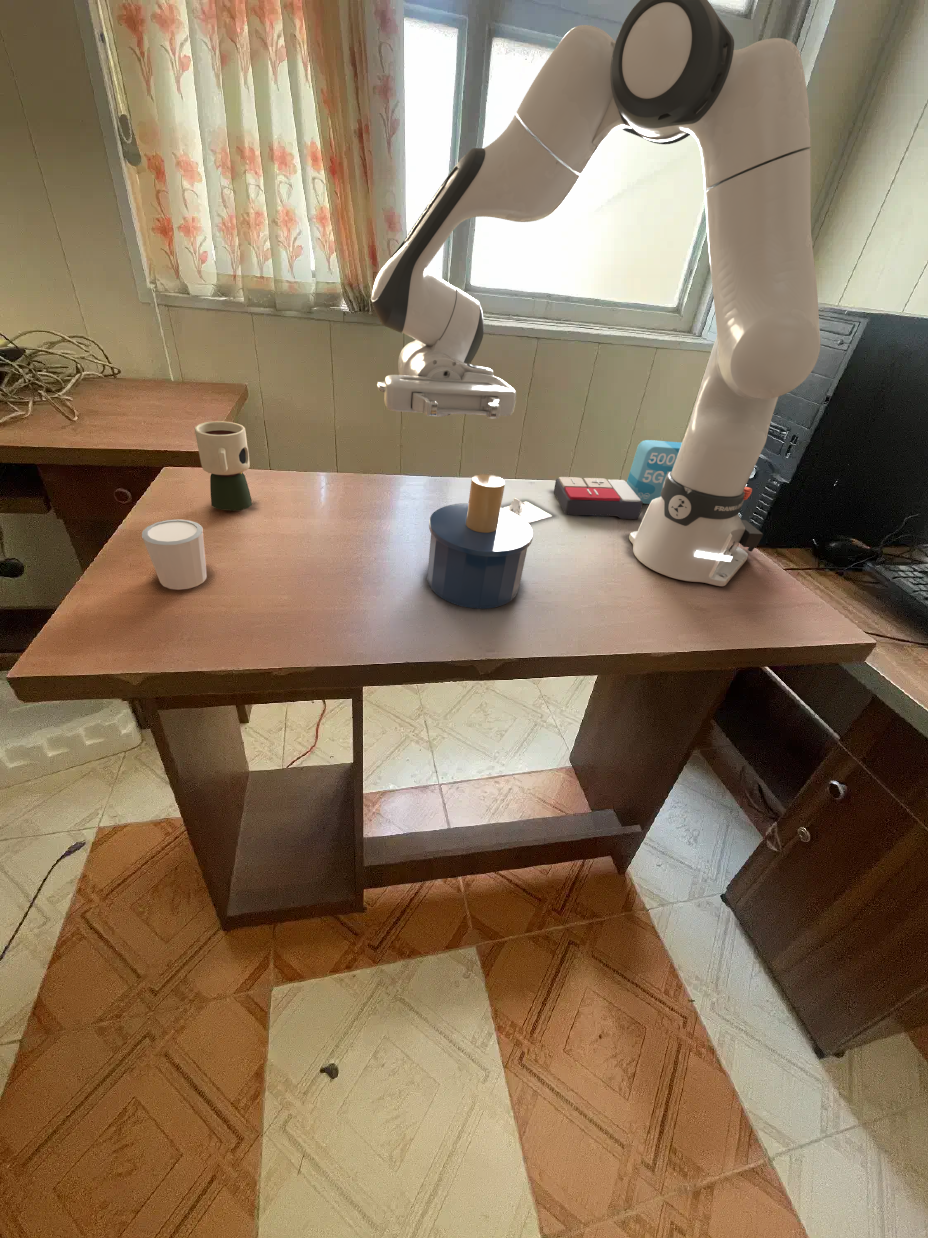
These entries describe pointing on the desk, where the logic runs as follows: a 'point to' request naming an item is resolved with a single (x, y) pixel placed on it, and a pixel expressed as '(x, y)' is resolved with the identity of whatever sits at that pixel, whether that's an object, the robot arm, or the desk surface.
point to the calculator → (597, 497)
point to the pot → (473, 576)
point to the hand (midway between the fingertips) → (464, 411)
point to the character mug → (225, 463)
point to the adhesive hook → (517, 506)
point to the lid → (482, 522)
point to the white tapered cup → (177, 552)
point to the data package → (652, 468)
